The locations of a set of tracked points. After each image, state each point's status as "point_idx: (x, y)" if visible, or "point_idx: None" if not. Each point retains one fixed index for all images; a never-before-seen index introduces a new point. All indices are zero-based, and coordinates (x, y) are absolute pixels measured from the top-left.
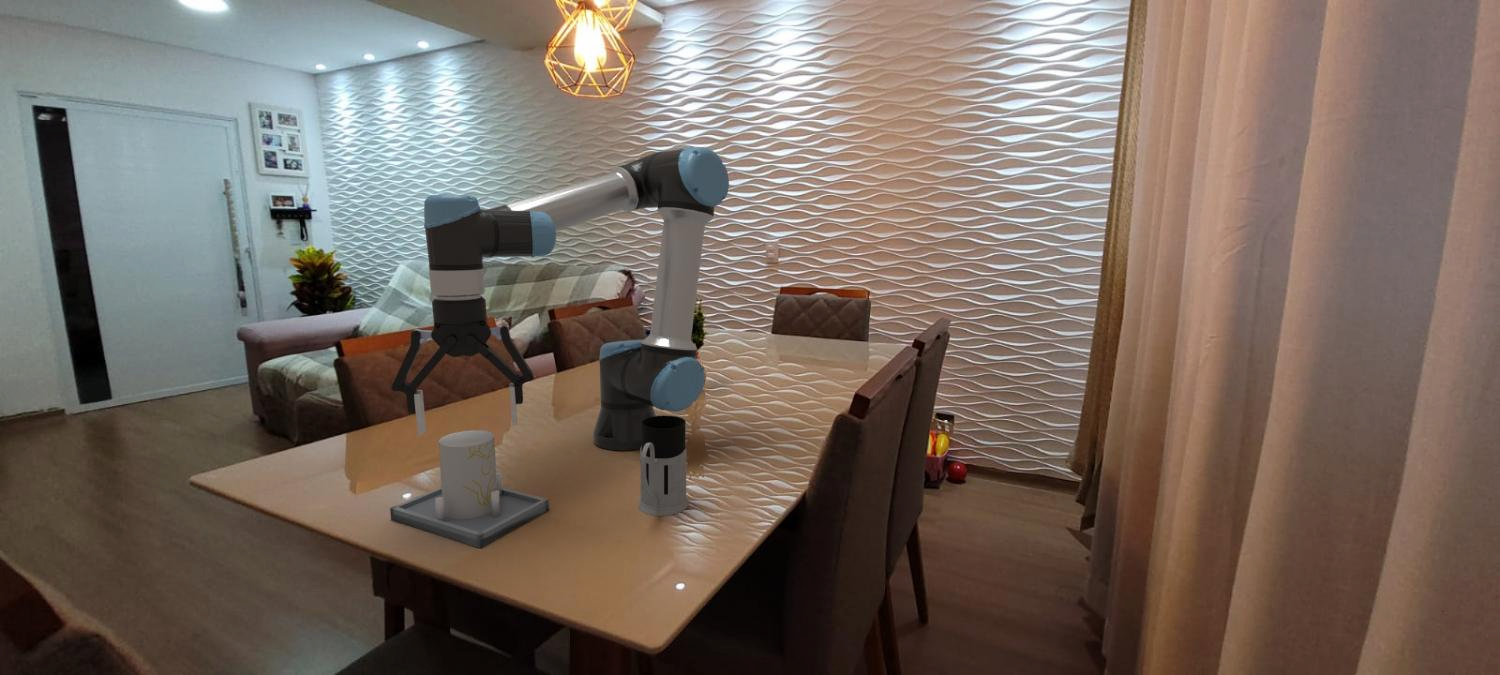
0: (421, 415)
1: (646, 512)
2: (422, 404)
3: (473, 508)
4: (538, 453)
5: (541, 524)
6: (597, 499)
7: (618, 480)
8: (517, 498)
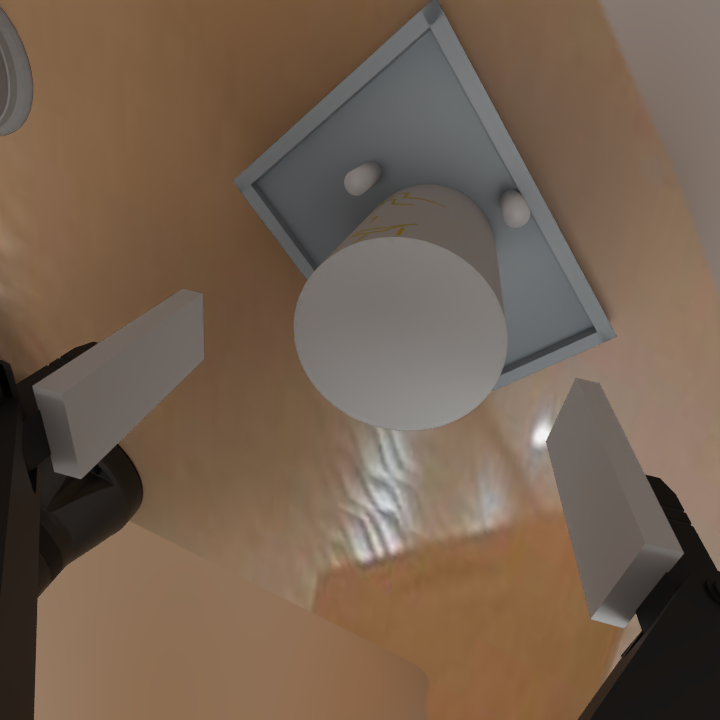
0: (601, 437)
1: (5, 19)
2: (588, 517)
3: (424, 189)
4: (252, 496)
5: (269, 93)
6: (132, 183)
7: (87, 271)
8: (310, 255)
